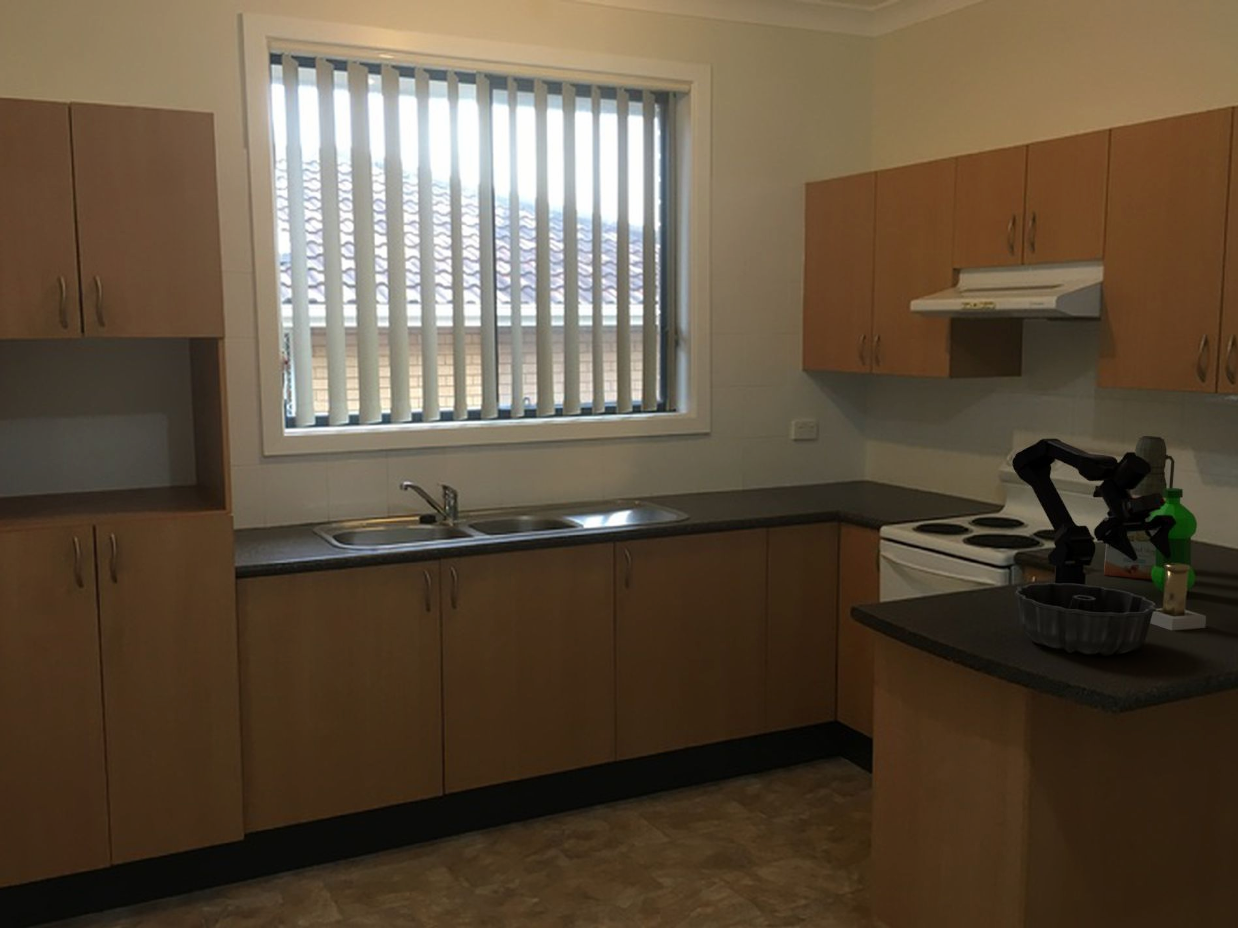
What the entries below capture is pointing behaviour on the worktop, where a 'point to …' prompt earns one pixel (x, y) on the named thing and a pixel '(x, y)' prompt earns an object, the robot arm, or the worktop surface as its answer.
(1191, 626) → the frame
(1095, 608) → the bundt pan
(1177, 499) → the plastic bottle
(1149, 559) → the cracker box
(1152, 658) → the worktop surface
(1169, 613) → the gold cylinder
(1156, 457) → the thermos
